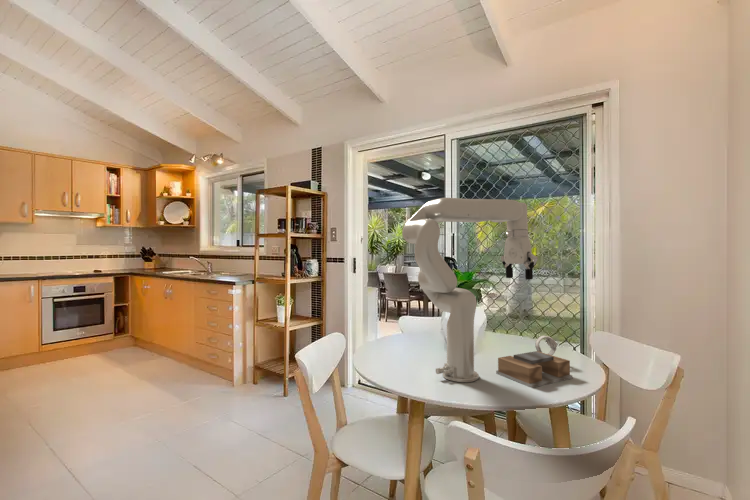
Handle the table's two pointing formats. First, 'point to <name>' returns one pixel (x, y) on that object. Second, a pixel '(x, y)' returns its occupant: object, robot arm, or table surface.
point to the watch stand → (534, 368)
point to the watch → (549, 342)
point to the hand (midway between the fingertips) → (519, 278)
